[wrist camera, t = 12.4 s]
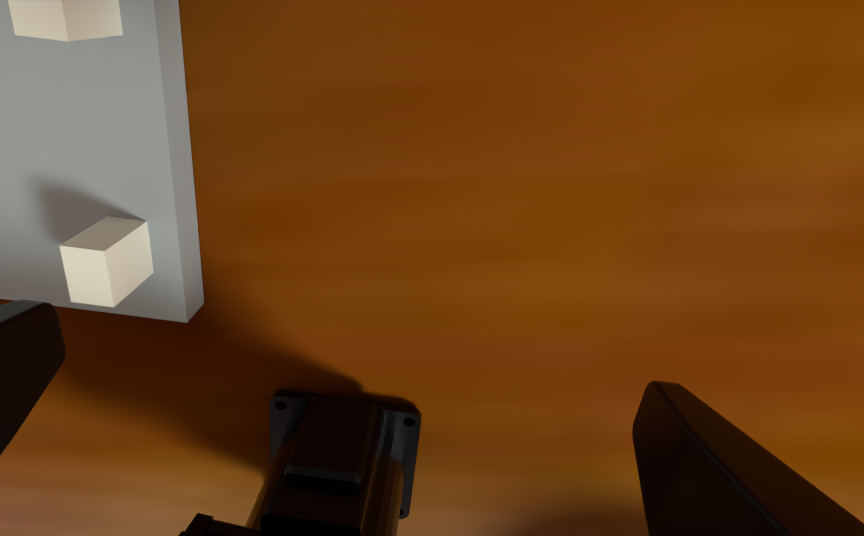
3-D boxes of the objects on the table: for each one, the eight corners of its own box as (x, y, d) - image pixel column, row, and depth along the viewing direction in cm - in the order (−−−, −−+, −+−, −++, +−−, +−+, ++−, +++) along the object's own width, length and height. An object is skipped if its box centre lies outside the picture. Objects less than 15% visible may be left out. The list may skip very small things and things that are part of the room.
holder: (204, 303, 22) (153, 361, 19) (-41, 271, 22) (-138, 324, 19) (168, -113, 16) (81, -143, 13) (-171, -154, 16) (-352, -195, 13)
